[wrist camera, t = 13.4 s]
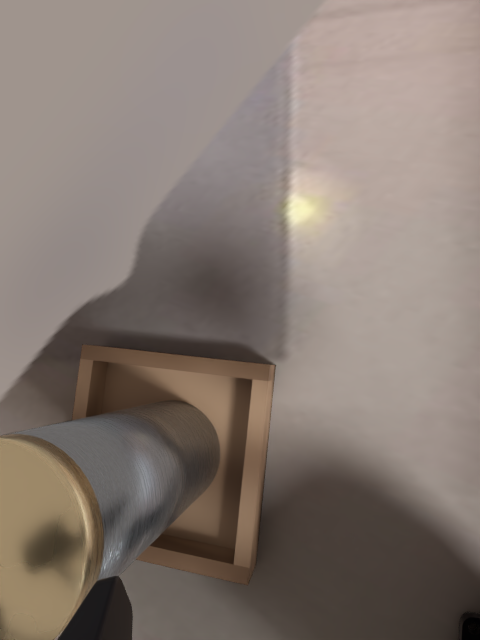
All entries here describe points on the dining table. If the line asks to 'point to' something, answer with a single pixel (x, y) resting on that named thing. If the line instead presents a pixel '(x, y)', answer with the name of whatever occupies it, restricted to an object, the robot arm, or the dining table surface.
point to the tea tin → (91, 504)
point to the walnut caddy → (234, 438)
